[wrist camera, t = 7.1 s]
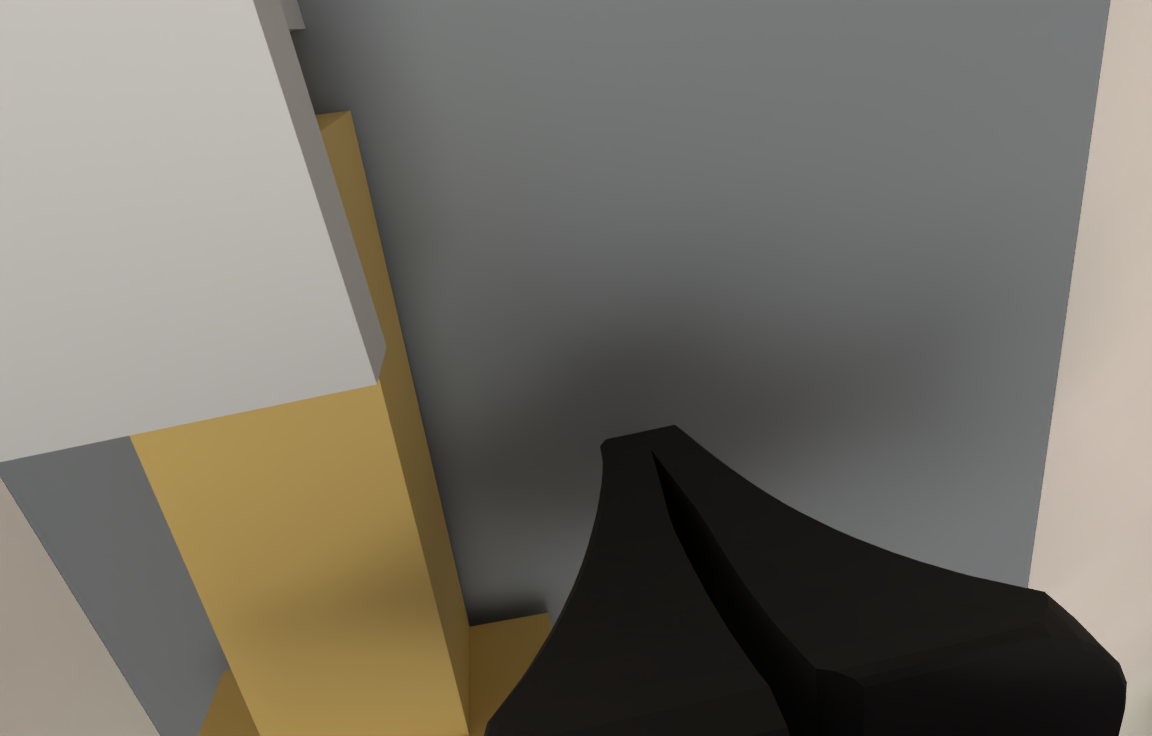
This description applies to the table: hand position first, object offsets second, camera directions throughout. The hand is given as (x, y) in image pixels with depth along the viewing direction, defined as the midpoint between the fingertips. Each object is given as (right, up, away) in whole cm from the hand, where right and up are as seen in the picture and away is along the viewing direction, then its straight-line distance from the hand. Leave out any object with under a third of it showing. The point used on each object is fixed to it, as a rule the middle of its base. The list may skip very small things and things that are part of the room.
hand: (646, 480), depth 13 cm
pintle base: (-1, 0, +2) cm, 2 cm away
